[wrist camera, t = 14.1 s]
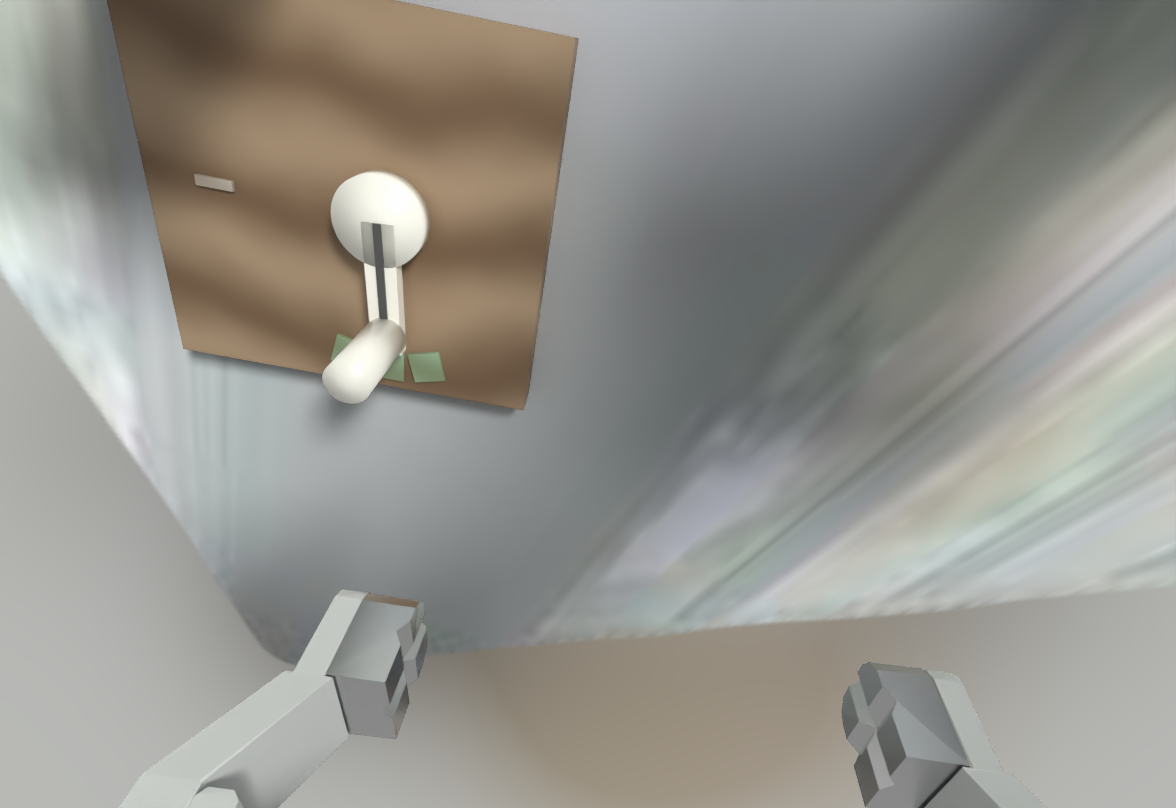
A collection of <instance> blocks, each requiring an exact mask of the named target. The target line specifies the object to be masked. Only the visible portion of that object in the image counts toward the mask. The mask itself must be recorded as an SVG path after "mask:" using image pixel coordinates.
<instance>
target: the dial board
mask: <svg viewBox="0 0 1176 808" xmlns="http://www.w3.org/2000/svg"><path fill="white" fill-rule="evenodd" d="M107 2H108V7H109V11H110V16H111V21H112V25H113V30H114V34H115V39H116V43H117V48H118V53H119V57H120V62H121V66H122V71H123V75H124V80H125V84H126V89H127V94H128V98H129V103H130V107H131V112H132V116H133V121H134V126H135V130H136V135H137V139H138V144H139V148H140V153H141V157H142V162H143V167H144V171H145V176H146V180H147V185H148V189H149V194H150V199H151V203H152V208H153V212H154V217H155V221H156V226H157V231H158V235H159V240H160V244H161V249H162V253H163V258H164V262H165V267H166V272H167V276H168V281H169V285H170V290H171V294H172V299H173V304H174V308H175V313H176V317H177V322H178V326H179V331H180V335H181V340H182V345H183V349H187V350H193V351H198V352H204V353H209V354H215V355H220V356H226V357H231V358H237V359H242V360H248V361H254V362H259V363H265V364H270V365H276V366H281V367H287V368H292V369H298V370H303V371H309V372H314V373H320V374H323V372H324V370H325V368H326V367H327V366H328V365H329V364H330V363H331V362H332V361H333V360H334V359H335V358H336V357H337V356H338V355H339V353H340V352H341V351H342V350H343V349H344V348H345V347H346V346H347V345H348V344H349V343H350V342H351V341H352V340H353V339H354V338H355V337H356V336H357V334H358V333H359V332H360V331H361V330H362V329H363V328H364V327H365V326H366V325H367V324H368V323H369V313H368V302H367V291H366V280H365V269H364V263H363V262H362V261H360V260H358V259H357V258H355V257H354V256H353V255H352V254H350V253H349V252H348V251H347V250H346V248H345V247H344V246H343V245H342V243H341V242H340V241H339V239H338V237H337V235H336V233H335V231H334V228H333V225H332V220H331V203H332V199H333V197H334V194H335V192H336V191H337V189H338V188H339V187H340V185H341V184H343V183H344V182H345V181H346V180H348V179H350V178H352V177H354V176H356V175H358V174H360V173H363V172H365V171H369V170H385V171H389V172H392V173H395V174H397V175H399V176H401V177H403V178H404V179H406V180H407V181H408V182H410V183H411V184H412V185H413V186H414V187H415V188H416V189H417V191H418V192H419V193H420V195H421V196H422V198H423V199H424V201H425V204H426V206H427V209H428V212H429V217H430V231H429V236H428V239H427V241H426V243H425V245H424V246H423V248H422V249H421V250H420V251H419V252H418V253H417V254H416V255H415V256H414V257H413V258H412V259H411V260H409V261H408V262H407V263H405V264H403V265H402V280H403V298H404V317H405V335H406V350H405V352H404V353H403V354H402V356H400V355H399V356H398V357H397V358H396V360H395V361H394V362H393V364H392V365H391V366H390V368H389V369H388V370H387V372H386V373H385V374H384V376H383V377H382V379H381V380H380V381H379V383H378V384H381V385H387V386H392V387H398V388H403V389H409V390H414V391H420V392H425V393H431V394H436V395H442V396H447V397H453V398H459V399H464V400H470V401H475V402H481V403H486V404H492V405H497V406H503V407H508V408H514V409H520V410H524V407H525V404H526V400H527V397H528V393H529V386H530V379H531V372H532V365H533V358H534V351H535V344H536V337H537V330H538V323H539V316H540V308H541V301H542V294H543V287H544V280H545V273H546V266H547V259H548V252H549V245H550V238H551V231H552V223H553V216H554V209H555V202H556V195H557V188H558V181H559V174H560V167H561V160H562V153H563V146H564V138H565V131H566V124H567V117H568V110H569V103H570V96H571V89H572V82H573V75H574V68H575V60H576V53H577V46H578V38H574V37H569V36H564V35H559V34H554V33H549V32H545V31H540V30H535V29H530V28H525V27H521V26H516V25H511V24H506V23H501V22H496V21H492V20H487V19H482V18H477V17H472V16H467V15H463V14H458V13H453V12H448V11H443V10H439V9H434V8H429V7H424V6H419V5H414V4H410V3H405V2H400V1H395V0H107Z"/></svg>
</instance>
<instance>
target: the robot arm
mask: <svg viewBox="0 0 1176 808" xmlns="http://www.w3.org/2000/svg"><path fill="white" fill-rule="evenodd" d="M424 614H425V608H424V602H423V601H418V600H412V599H405V598H398V597H391V596H385V595H378V594H371V593H367V592H360V591H352V590H345V589H342V590H341V591H340V592H339V593H338V594H337V595H336V596H335V597H334V598H333V600H332V602H331V604H330V606H329V607H328V609H327V611H326V613H325V615H324V616H323V618H322V620H321V622H320V624H319V625H318V627H317V629H316V631H315V633H314V634H313V636H312V638H311V640H310V642H309V643H308V645H307V647H306V649H305V651H304V652H303V654H302V656H301V658H300V660H299V661H298V663H297V665H296V667H295V669H294V670H293V671H288V670H285V671H283V672H282V673H280V674H279V675H278V676H276V677H275V678H273V679H272V680H271V681H269V682H268V683H267V684H265V685H264V686H263V687H261V688H260V689H259V690H257V691H256V692H254V693H253V694H251V695H250V696H249V697H247V698H246V699H244V700H243V701H242V702H240V703H239V704H238V705H236V706H235V707H233V708H232V709H231V710H229V711H228V712H227V713H225V714H224V715H222V716H221V717H220V718H218V719H217V720H215V721H214V722H213V723H211V724H210V725H209V726H207V727H206V728H204V729H203V730H202V731H200V732H199V733H198V734H196V735H195V736H193V737H192V738H191V739H189V740H188V741H186V742H185V743H184V744H182V745H181V746H180V747H178V748H177V749H175V750H174V751H173V752H171V753H170V754H169V755H167V756H166V757H164V758H163V759H162V760H160V761H159V762H157V763H156V764H155V765H153V766H152V767H151V768H149V769H148V770H147V771H145V772H144V773H143V774H142V775H141V776H140V778H139V779H138V781H137V782H136V784H135V785H134V787H133V788H132V790H131V791H130V792H129V794H128V795H127V797H126V798H125V800H124V801H123V803H122V804H121V806H120V807H119V808H278V807H279V806H280V805H281V804H282V803H283V802H284V801H285V800H286V799H287V798H288V797H289V796H290V795H291V794H292V793H293V792H294V791H295V790H296V789H297V788H298V787H299V786H300V785H301V784H302V783H303V782H304V781H305V780H306V779H307V778H308V777H309V776H310V775H311V774H312V773H313V772H314V771H315V770H316V769H317V768H318V767H319V766H320V765H321V764H322V763H323V762H324V761H325V760H326V759H327V758H328V757H329V756H330V755H331V754H332V753H333V752H334V751H335V750H336V749H337V748H338V747H339V746H340V745H341V744H342V743H343V742H344V741H345V740H346V739H347V738H348V737H349V735H348V734H356V735H357V734H358V735H365V736H374V737H383V738H391V739H396V738H397V735H398V732H399V729H400V727H401V724H402V721H403V719H404V716H405V713H406V710H407V707H408V704H409V696H408V688H407V687H408V686H409V685H411V684H412V683H413V682H414V681H415V680H417V679H418V677H419V674H420V670H421V668H422V665H423V661H424V657H425V652H426V648H427V636H428V635H427V627H426V626H425V625H424V624H423V623H422V620H423V617H424ZM858 676H859V679H860V681H859V682H857V683H855V684H852V685H850V686H849V687H848V689H847V691H846V693H845V695H844V696H843V703H842V719H843V726H844V730H845V734H846V738H847V740H848V741H849V742H850V744H851V745H852V746H853V747H854V748H855V750H856V751H857V752H858V753H859V755H858V757H857V760H856V762H855V764H854V768H855V771H856V775H857V779H858V783H859V786H860V790H861V793H862V797H863V801H864V805H865V807H867V808H1047V807H1046V806H1045V805H1044V804H1043V803H1042V802H1041V801H1040V800H1039V799H1038V798H1037V797H1036V796H1035V795H1034V794H1033V793H1032V792H1031V791H1030V790H1029V789H1028V788H1027V787H1026V786H1025V785H1024V784H1023V783H1022V782H1021V781H1020V780H1019V779H1018V778H1017V777H1016V776H1015V775H1014V774H1010V773H1005V772H1004V771H1003V769H1002V767H1001V765H1000V763H999V760H998V758H997V756H996V754H995V752H994V750H993V748H992V745H991V743H990V741H989V739H988V737H987V735H986V733H985V731H984V729H983V727H982V724H981V722H980V720H979V718H978V716H977V714H976V712H975V710H974V707H973V705H972V703H971V701H970V699H969V697H968V695H967V693H966V691H965V688H964V687H963V684H962V682H961V681H960V680H959V678H957V676H956V675H955V674H951V673H947V672H939V671H931V670H923V669H921V668H913V667H905V666H897V665H889V664H880V663H872V662H868V663H865V664H863V665H862V666H861V668H860V669H859V671H858Z"/></svg>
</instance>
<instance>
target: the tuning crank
mask: <svg viewBox="0 0 1176 808" xmlns="http://www.w3.org/2000/svg"><path fill="white" fill-rule="evenodd" d="M331 220H332V225H333V228H334V231H335V233H336V235H337V237H338V239H339V241H340V242H341V243H342V245H343V246H344V247H345V248H346V250H347V251H348V252H349V253H350V254H352V255H353V256H354V257H355V258H357V259H358V260H360V261H362V262H363V263H364V269H365V280H366V291H367V302H368V313H369V323H368V324H367V325H366V326H365V327H364V328H363V329H362V330H361V331H360V332H359V333H358V334H357V336H356V337H355V338H354V339H353V340H352V341H351V342H350V343H349V344H348V345H347V346H346V347H345V348H344V349H343V350H342V351H341V352H340V353H339V355H338V356H337V357H336V358H335V359H334V360H333V361H332V362H331V363H330V364H329V365H328V366H327V367H326V368H325V370H324V372H323V375H322V381H323V384H324V387H325V389H326V390H327V391H328V393H329V394H330V395H331V396H332V397H334V398H335V399H337V400H339V401H341V402H343V403H348V404H357V403H360V402H363V401H364V400H365V399H366V398H367V397H368V396H369V395H370V393H371V392H372V391H373V389H374V388H375V387H376V385H377V384H378V383H379V381H380V380H381V379H382V377H383V376H384V374H385V373H386V372H387V370H388V369H389V368H390V366H391V365H392V364H393V362H394V361H395V360H396V358H397V357H398V356H399V355H400V356H402V354H403V353H404V352H405V350H406V335H405V317H404V298H403V280H402V265H403V264H405V263H407V262H408V261H409V260H411V259H412V258H413V257H414V256H415V255H416V254H417V253H418V252H419V251H420V250H421V249H422V248H423V246H424V245H425V243H426V241H427V239H428V236H429V231H430V217H429V212H428V209H427V206H426V204H425V201H424V199H423V198H422V196H421V195H420V193H419V192H418V191H417V189H416V188H415V187H414V186H413V185H412V184H411V183H410V182H408V181H407V180H406V179H404V178H403V177H401V176H399V175H397V174H395V173H392V172H389V171H385V170H369V171H365V172H363V173H360V174H358V175H356V176H354V177H352V178H350V179H348V180H346V181H345V182H344V183H343V184H341V185H340V187H339V188H338V189H337V191H336V192H335V194H334V197H333V199H332V203H331Z"/></svg>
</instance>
